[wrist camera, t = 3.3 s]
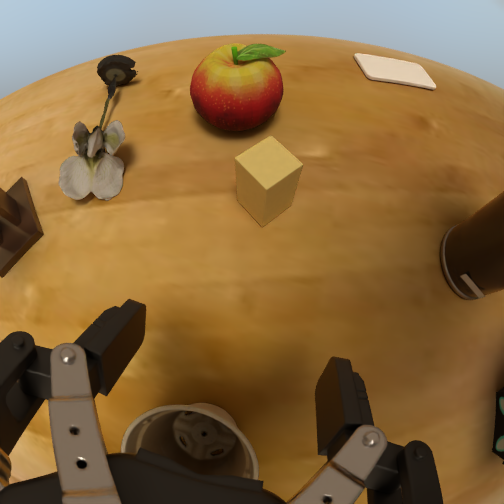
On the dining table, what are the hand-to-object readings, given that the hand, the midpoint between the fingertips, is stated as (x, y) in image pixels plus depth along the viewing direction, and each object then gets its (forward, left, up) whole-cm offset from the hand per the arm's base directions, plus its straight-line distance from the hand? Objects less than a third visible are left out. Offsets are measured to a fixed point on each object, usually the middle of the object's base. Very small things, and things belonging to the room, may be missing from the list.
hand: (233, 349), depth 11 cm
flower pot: (+8, +5, -15) cm, 18 cm away
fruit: (-17, -21, -15) cm, 31 cm away
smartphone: (-47, -16, -15) cm, 52 cm away
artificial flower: (-3, -31, -15) cm, 34 cm away
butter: (-11, -9, -15) cm, 21 cm away
